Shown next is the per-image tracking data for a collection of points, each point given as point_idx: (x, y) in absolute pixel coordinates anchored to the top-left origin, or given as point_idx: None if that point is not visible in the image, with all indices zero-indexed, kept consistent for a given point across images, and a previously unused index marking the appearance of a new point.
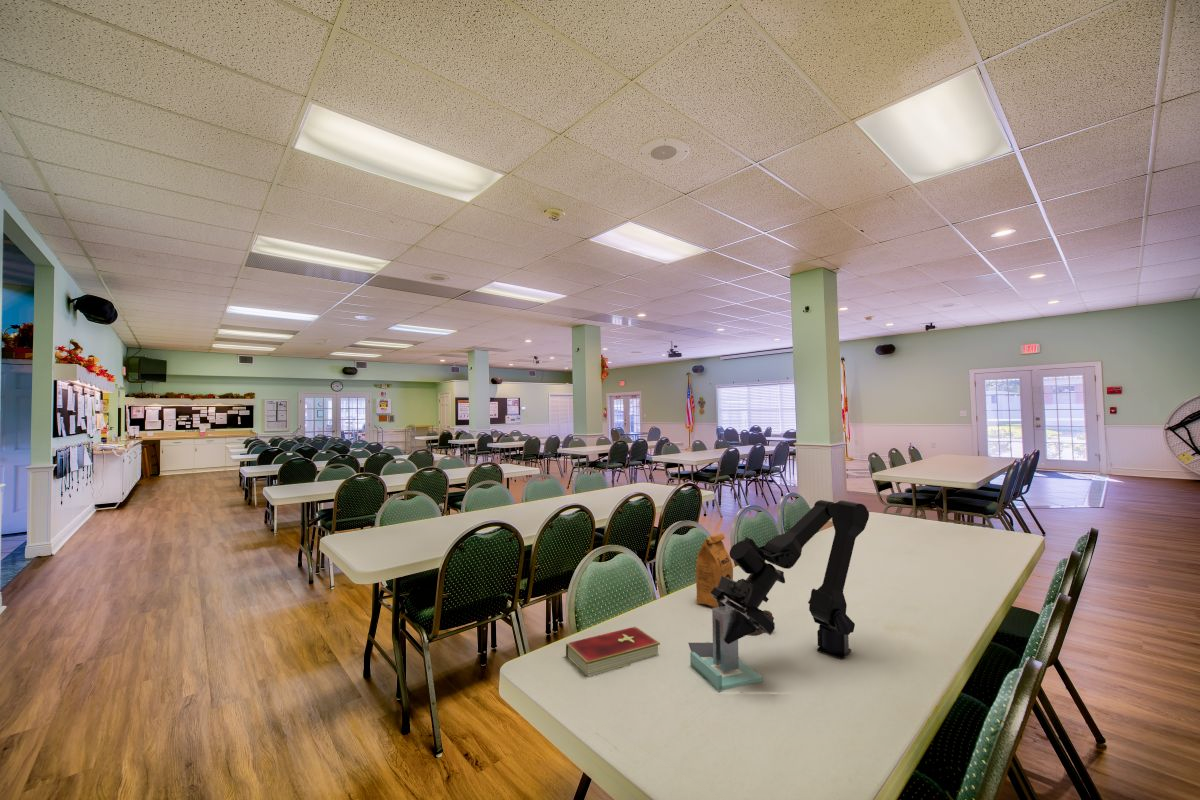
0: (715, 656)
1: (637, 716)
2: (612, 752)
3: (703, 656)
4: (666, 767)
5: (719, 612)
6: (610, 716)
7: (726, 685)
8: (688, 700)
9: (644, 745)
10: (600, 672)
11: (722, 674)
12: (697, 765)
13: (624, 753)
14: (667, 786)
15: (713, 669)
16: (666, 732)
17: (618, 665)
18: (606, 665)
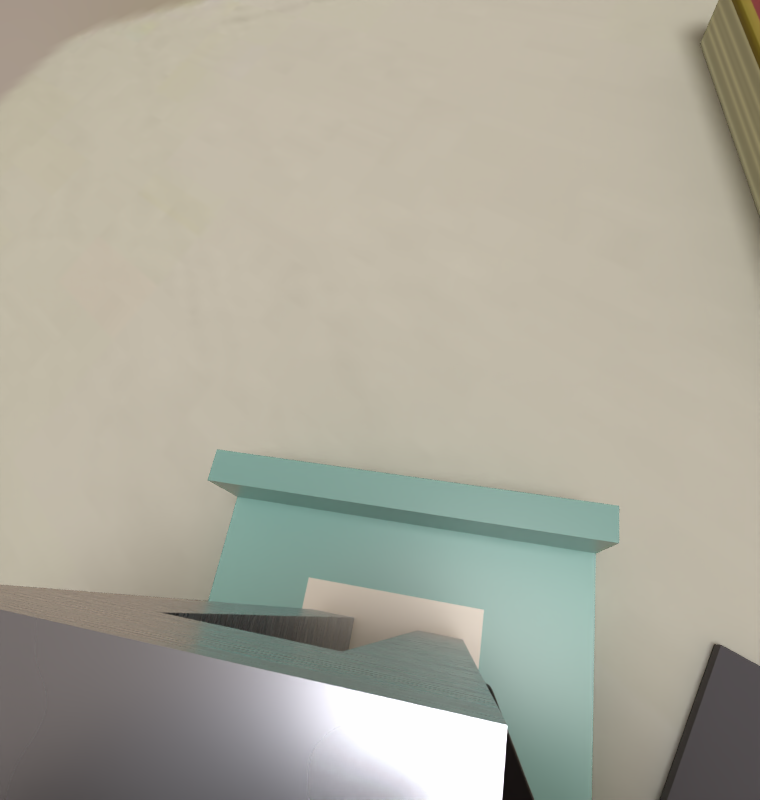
0: (425, 634)
1: (326, 106)
2: (229, 9)
3: (696, 738)
4: (90, 90)
5: (5, 616)
6: (378, 43)
7: (229, 530)
8: (296, 307)
9: (195, 76)
10: (716, 88)
11: (330, 603)
12: (32, 154)
13: (205, 29)
14: (46, 69)
15: (295, 481)
16: (196, 146)
17: (749, 158)
18: (740, 88)
